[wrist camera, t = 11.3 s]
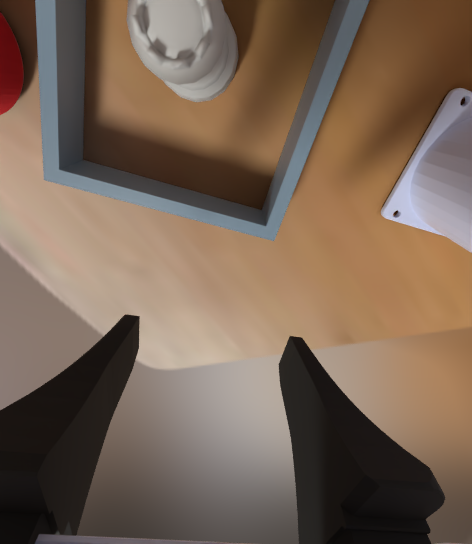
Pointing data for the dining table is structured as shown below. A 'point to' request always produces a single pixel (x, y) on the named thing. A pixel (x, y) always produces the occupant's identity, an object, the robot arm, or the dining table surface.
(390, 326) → the dining table surface
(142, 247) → the dining table surface
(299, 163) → the slate bin
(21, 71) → the beverage can
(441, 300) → the dining table surface
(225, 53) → the rook chess piece
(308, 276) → the dining table surface
